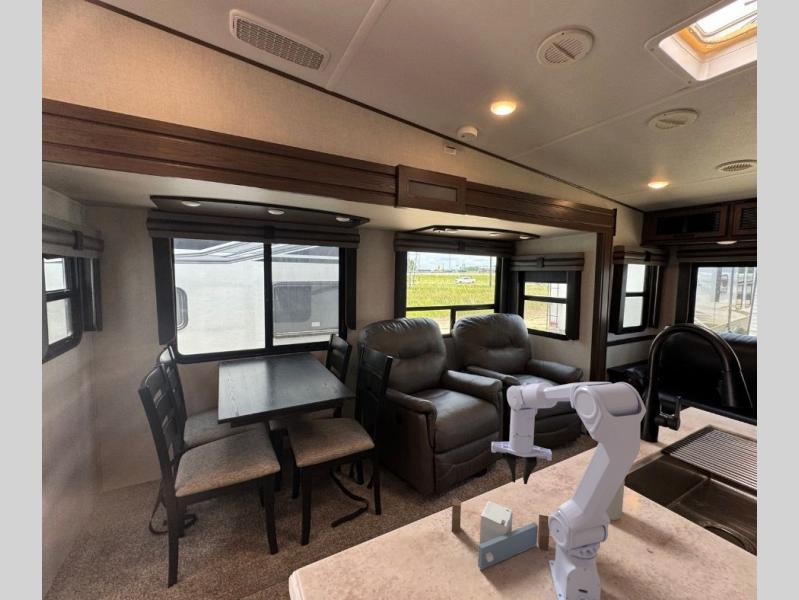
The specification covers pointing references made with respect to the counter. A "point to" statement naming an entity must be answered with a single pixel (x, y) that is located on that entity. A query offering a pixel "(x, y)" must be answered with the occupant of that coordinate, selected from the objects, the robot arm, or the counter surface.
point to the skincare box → (495, 522)
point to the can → (616, 504)
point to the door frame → (542, 527)
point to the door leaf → (507, 545)
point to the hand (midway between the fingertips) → (519, 480)
